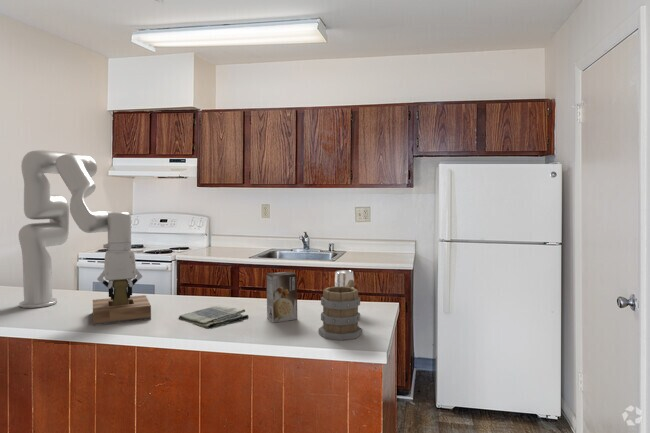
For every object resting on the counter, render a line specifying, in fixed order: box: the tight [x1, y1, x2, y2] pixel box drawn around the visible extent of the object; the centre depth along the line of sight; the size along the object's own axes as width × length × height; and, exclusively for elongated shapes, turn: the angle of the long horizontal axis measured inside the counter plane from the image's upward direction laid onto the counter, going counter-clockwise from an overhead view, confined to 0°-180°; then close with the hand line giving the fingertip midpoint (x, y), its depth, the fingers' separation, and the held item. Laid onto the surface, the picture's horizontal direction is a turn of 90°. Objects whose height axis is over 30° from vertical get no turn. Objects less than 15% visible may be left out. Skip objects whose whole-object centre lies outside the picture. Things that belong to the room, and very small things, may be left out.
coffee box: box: [266, 271, 298, 323], centre depth 165 cm, size 9×6×16 cm
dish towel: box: [178, 305, 249, 329], centre depth 166 cm, size 19×18×3 cm
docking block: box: [92, 294, 152, 326], centre depth 168 cm, size 18×18×5 cm
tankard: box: [318, 280, 363, 341], centre depth 152 cm, size 20×13×15 cm, turn 157°
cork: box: [112, 280, 129, 306], centre depth 168 cm, size 6×6×11 cm
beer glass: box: [334, 269, 355, 288], centre depth 175 cm, size 7×7×15 cm
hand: (120, 297), depth 168 cm, fingers open, 4 cm apart
